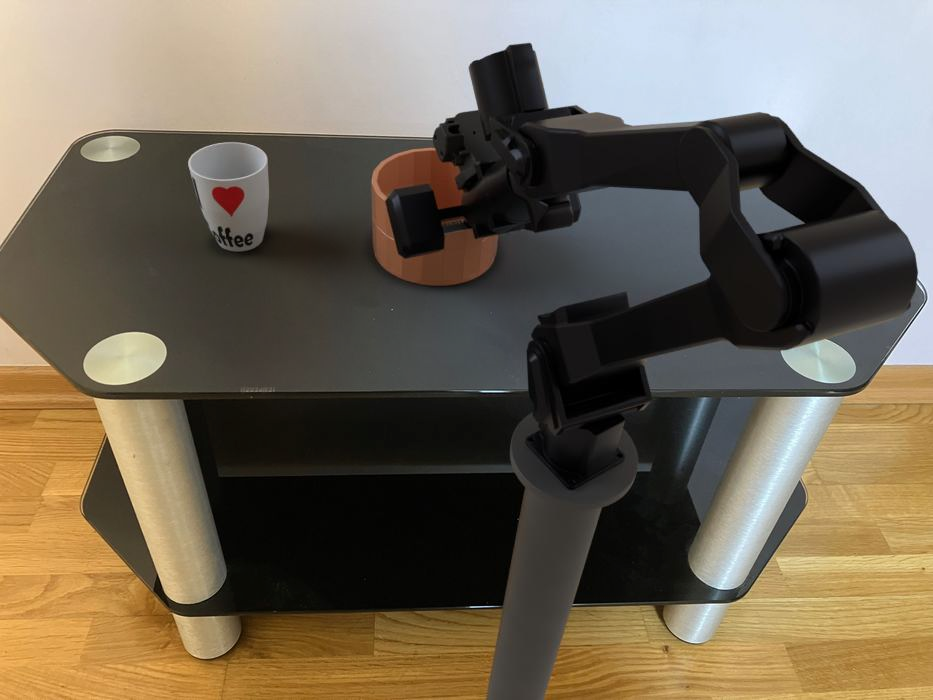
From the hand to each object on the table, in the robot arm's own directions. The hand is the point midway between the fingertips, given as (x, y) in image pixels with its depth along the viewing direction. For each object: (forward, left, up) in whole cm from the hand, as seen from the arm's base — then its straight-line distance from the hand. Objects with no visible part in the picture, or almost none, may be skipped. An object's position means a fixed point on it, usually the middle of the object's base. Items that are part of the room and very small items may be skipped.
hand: (458, 226), depth 82 cm
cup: (+18, +17, -7) cm, 26 cm away
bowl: (+6, -1, -7) cm, 9 cm away
